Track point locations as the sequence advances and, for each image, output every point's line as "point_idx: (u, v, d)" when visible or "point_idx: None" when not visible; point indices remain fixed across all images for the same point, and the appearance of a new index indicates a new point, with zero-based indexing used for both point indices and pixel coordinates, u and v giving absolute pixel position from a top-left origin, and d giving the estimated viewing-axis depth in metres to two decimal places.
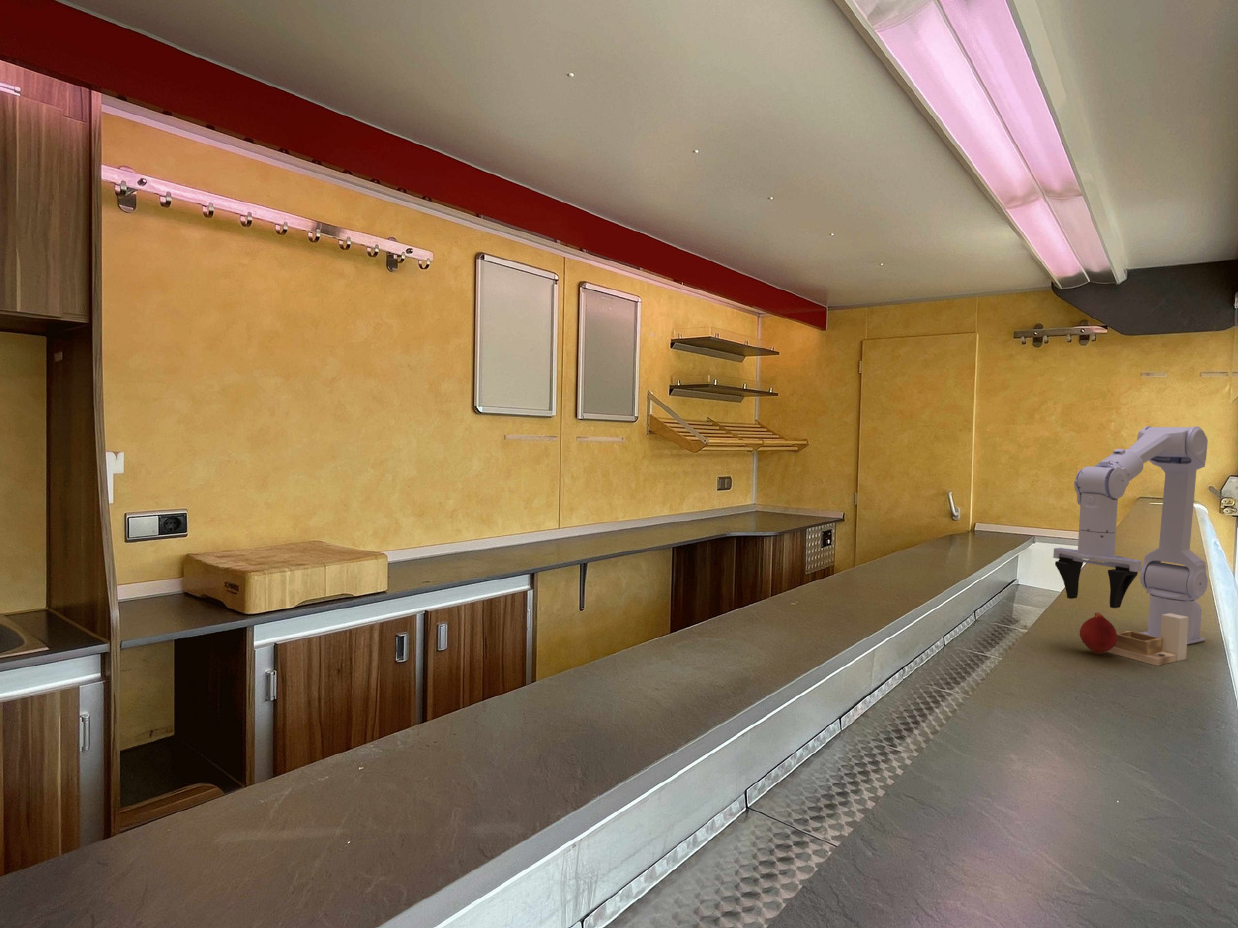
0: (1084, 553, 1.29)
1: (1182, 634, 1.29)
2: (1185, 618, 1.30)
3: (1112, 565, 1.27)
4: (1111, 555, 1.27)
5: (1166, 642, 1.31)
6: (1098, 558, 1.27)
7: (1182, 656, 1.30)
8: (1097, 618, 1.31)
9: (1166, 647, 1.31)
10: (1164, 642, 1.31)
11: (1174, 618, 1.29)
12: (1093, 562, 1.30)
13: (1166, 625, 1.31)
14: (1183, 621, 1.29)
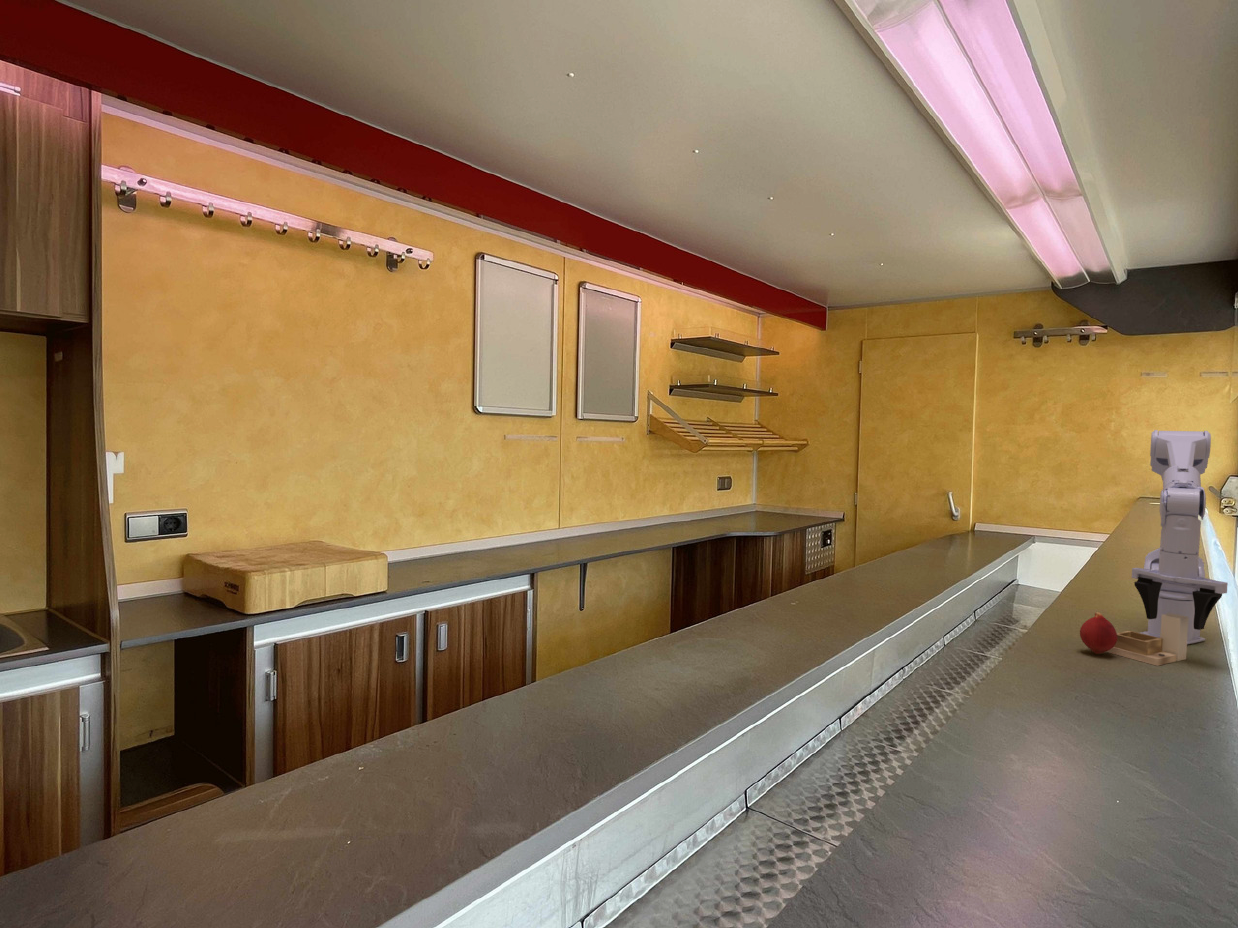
0: (1166, 574, 1.29)
1: (1182, 634, 1.29)
2: (1185, 618, 1.30)
3: (1196, 586, 1.27)
4: (1194, 576, 1.28)
5: (1166, 642, 1.31)
6: (1182, 579, 1.28)
7: (1182, 656, 1.30)
8: (1097, 618, 1.31)
9: (1166, 647, 1.31)
10: (1164, 642, 1.31)
11: (1174, 618, 1.29)
12: (1175, 583, 1.30)
13: (1166, 625, 1.31)
14: (1183, 621, 1.29)
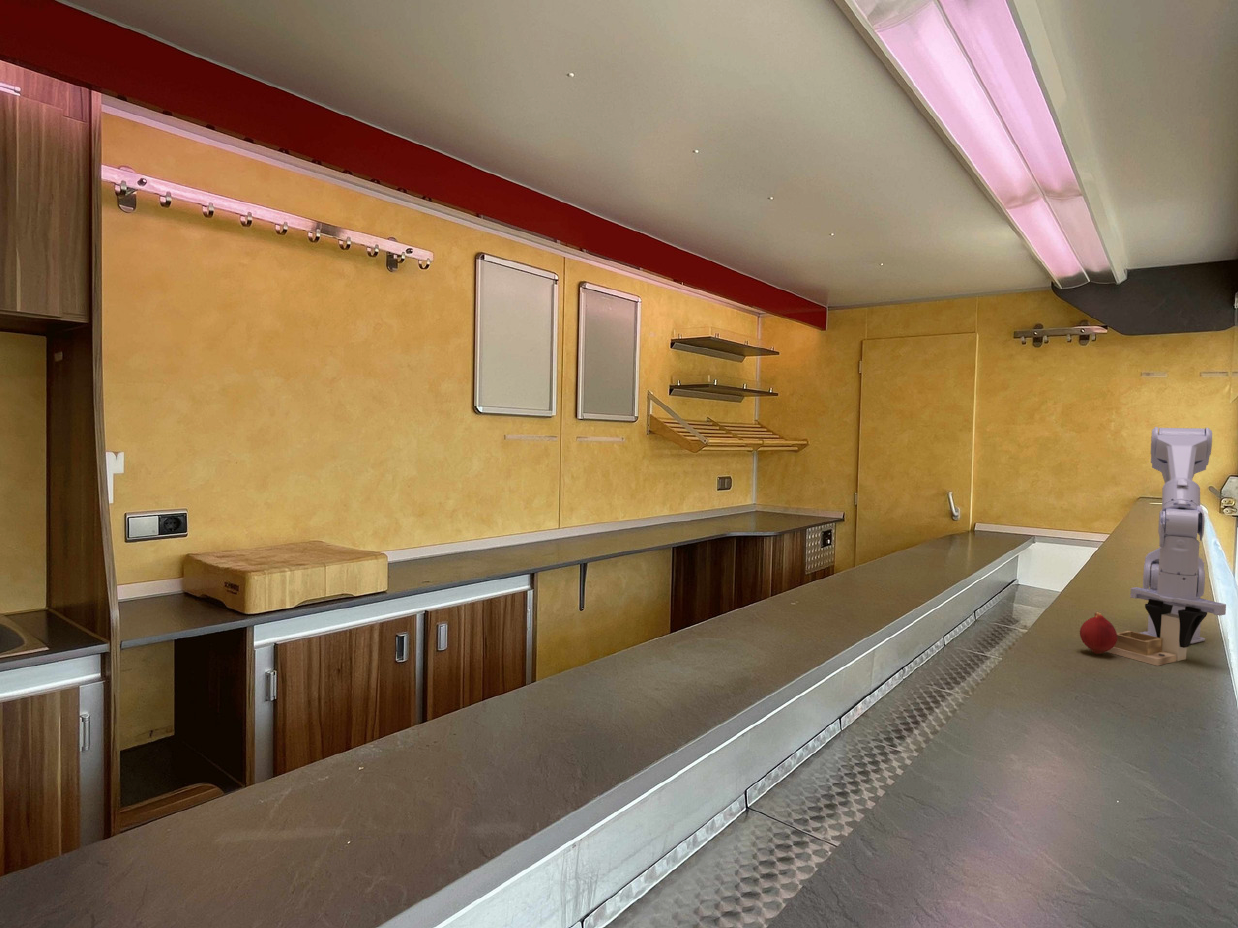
0: (1165, 595, 1.30)
1: None
2: None
3: (1194, 607, 1.28)
4: (1193, 597, 1.28)
5: (1166, 642, 1.31)
6: (1180, 600, 1.28)
7: (1182, 656, 1.30)
8: (1097, 618, 1.31)
9: (1166, 647, 1.31)
10: (1164, 642, 1.31)
11: (1174, 618, 1.29)
12: (1173, 603, 1.31)
13: (1166, 625, 1.31)
14: None
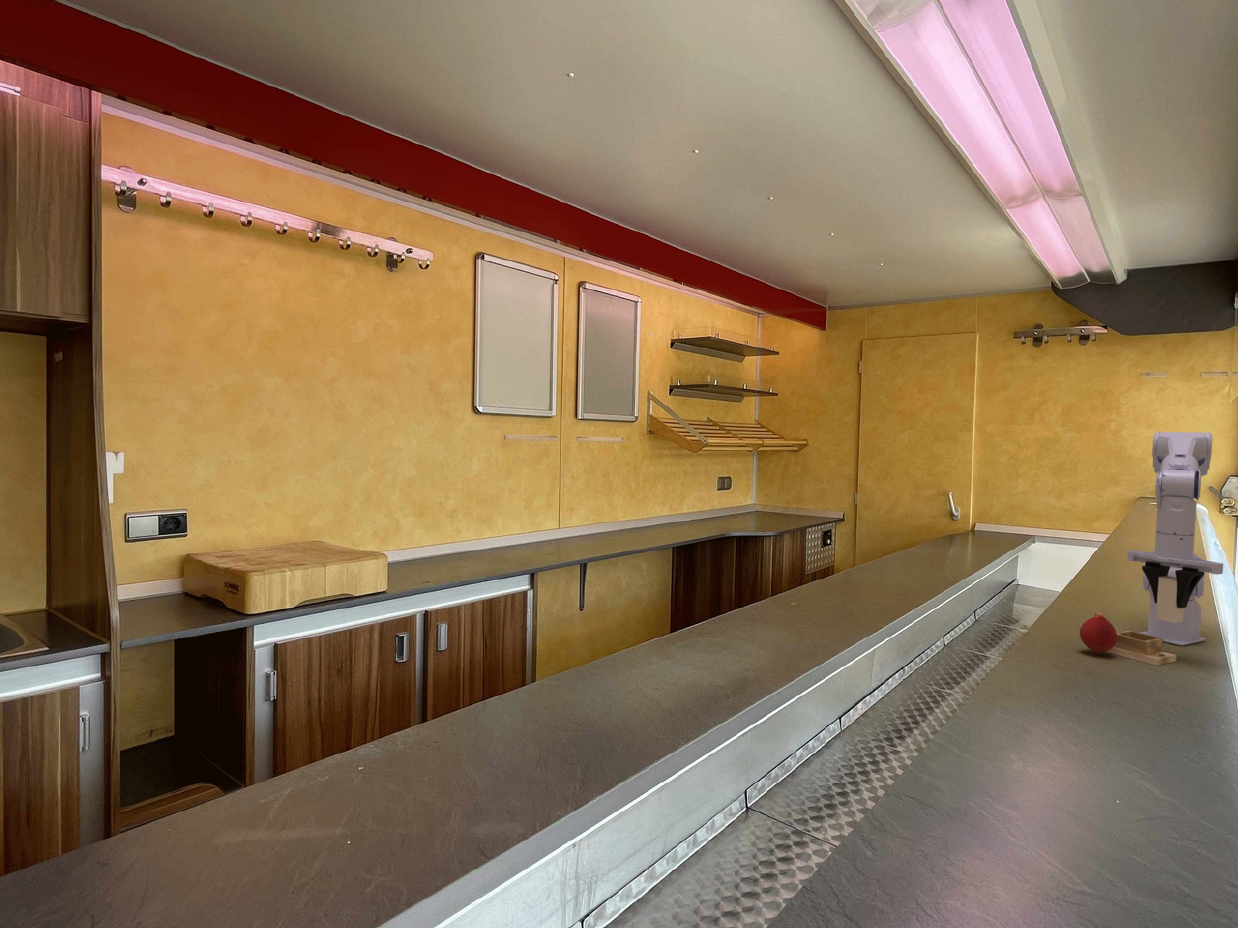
0: (1162, 556, 1.29)
1: None
2: None
3: (1191, 568, 1.27)
4: (1190, 558, 1.28)
5: (1163, 604, 1.30)
6: (1177, 561, 1.27)
7: (1179, 618, 1.29)
8: (1097, 618, 1.31)
9: (1163, 609, 1.30)
10: (1161, 604, 1.31)
11: (1171, 580, 1.29)
12: (1170, 565, 1.30)
13: (1163, 587, 1.30)
14: None
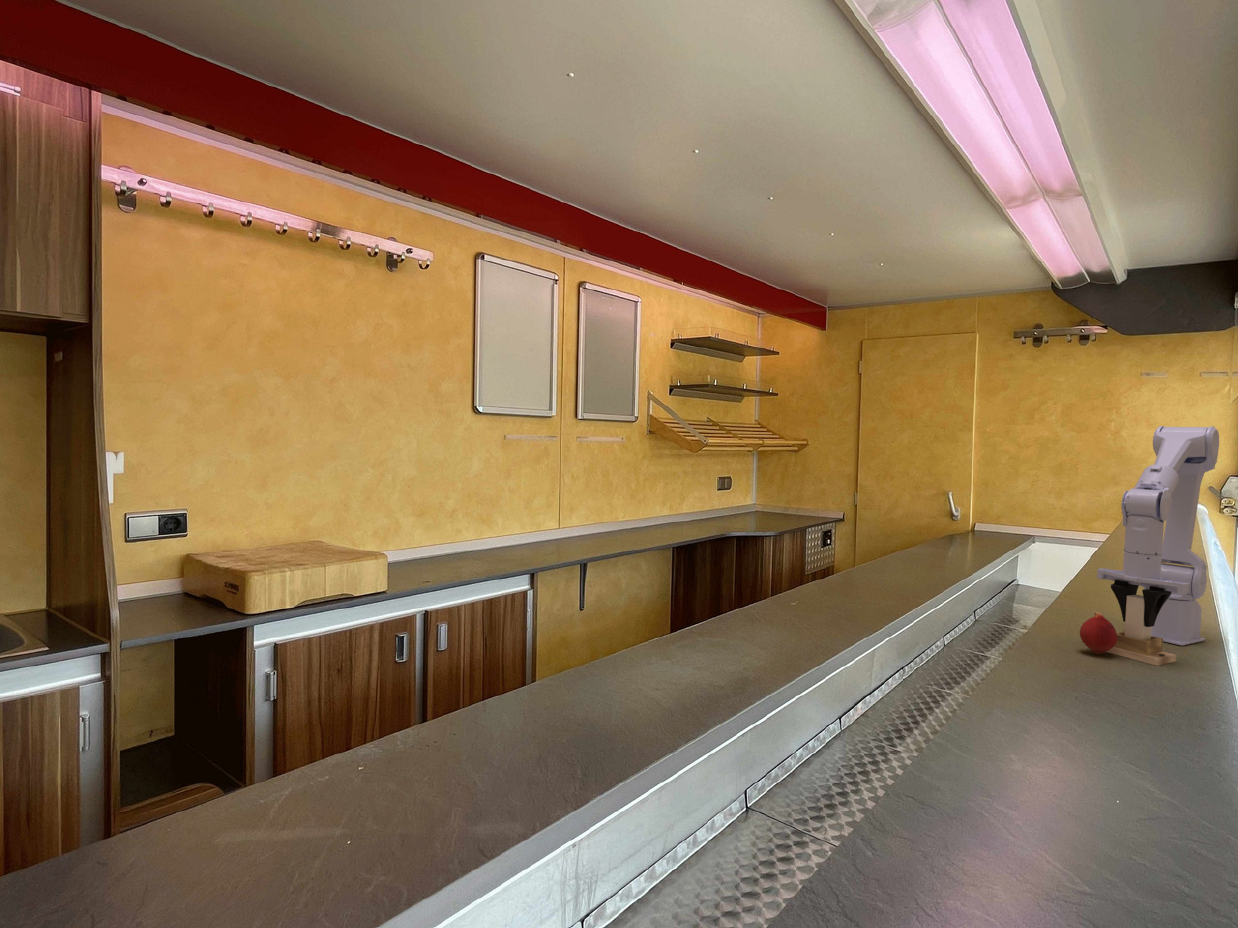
0: (1130, 575, 1.30)
1: None
2: None
3: (1158, 587, 1.28)
4: (1157, 577, 1.28)
5: (1131, 623, 1.31)
6: (1144, 580, 1.28)
7: (1147, 637, 1.30)
8: (1097, 618, 1.31)
9: (1131, 628, 1.31)
10: (1129, 623, 1.31)
11: (1139, 599, 1.30)
12: (1138, 583, 1.31)
13: (1131, 606, 1.31)
14: None
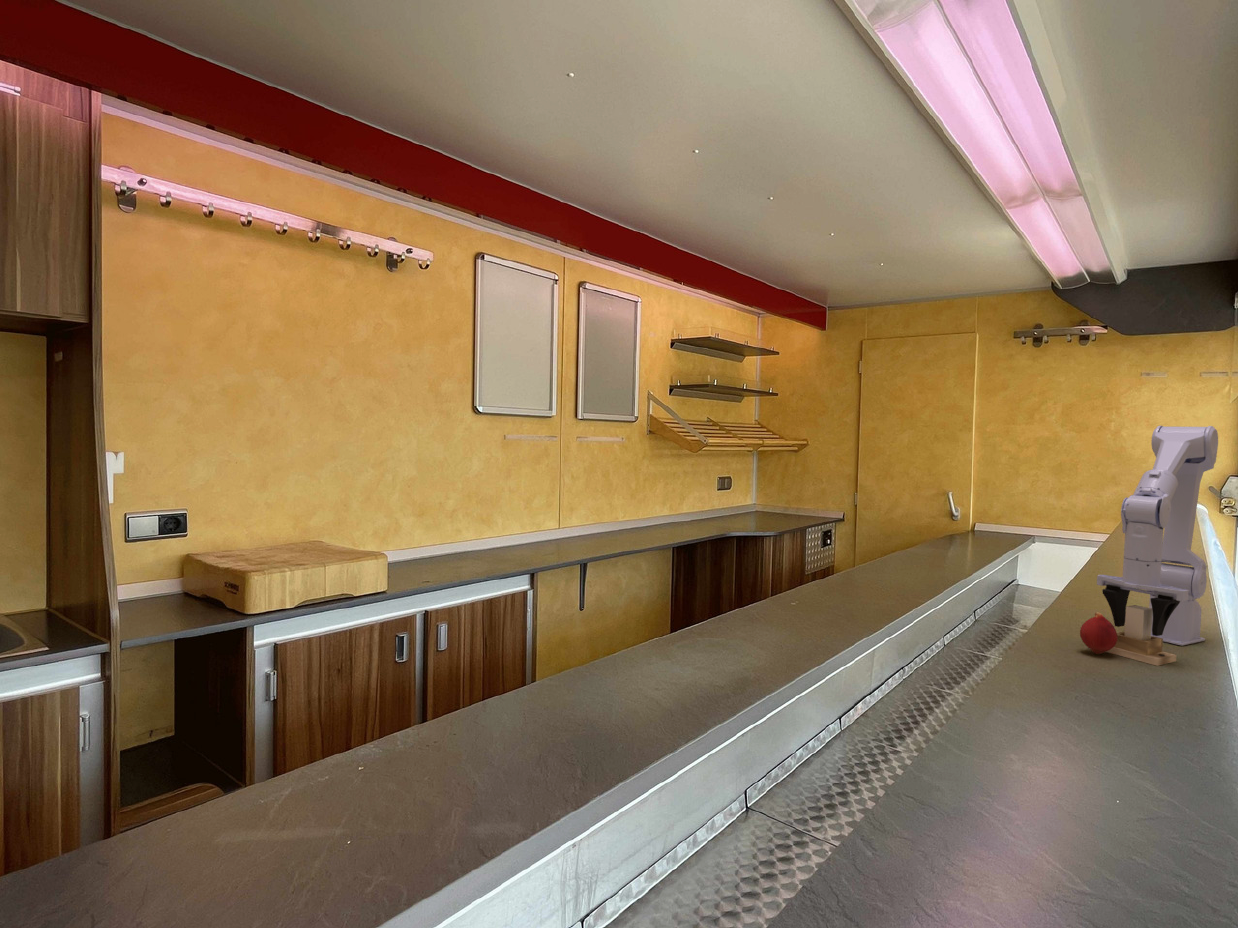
0: (1129, 581, 1.30)
1: (1146, 625, 1.30)
2: (1149, 610, 1.30)
3: (1158, 594, 1.28)
4: (1157, 584, 1.29)
5: (1130, 634, 1.31)
6: (1144, 587, 1.28)
7: None
8: (1097, 618, 1.31)
9: None
10: (1129, 633, 1.32)
11: (1138, 610, 1.30)
12: (1138, 590, 1.31)
13: (1130, 617, 1.31)
14: (1147, 613, 1.30)
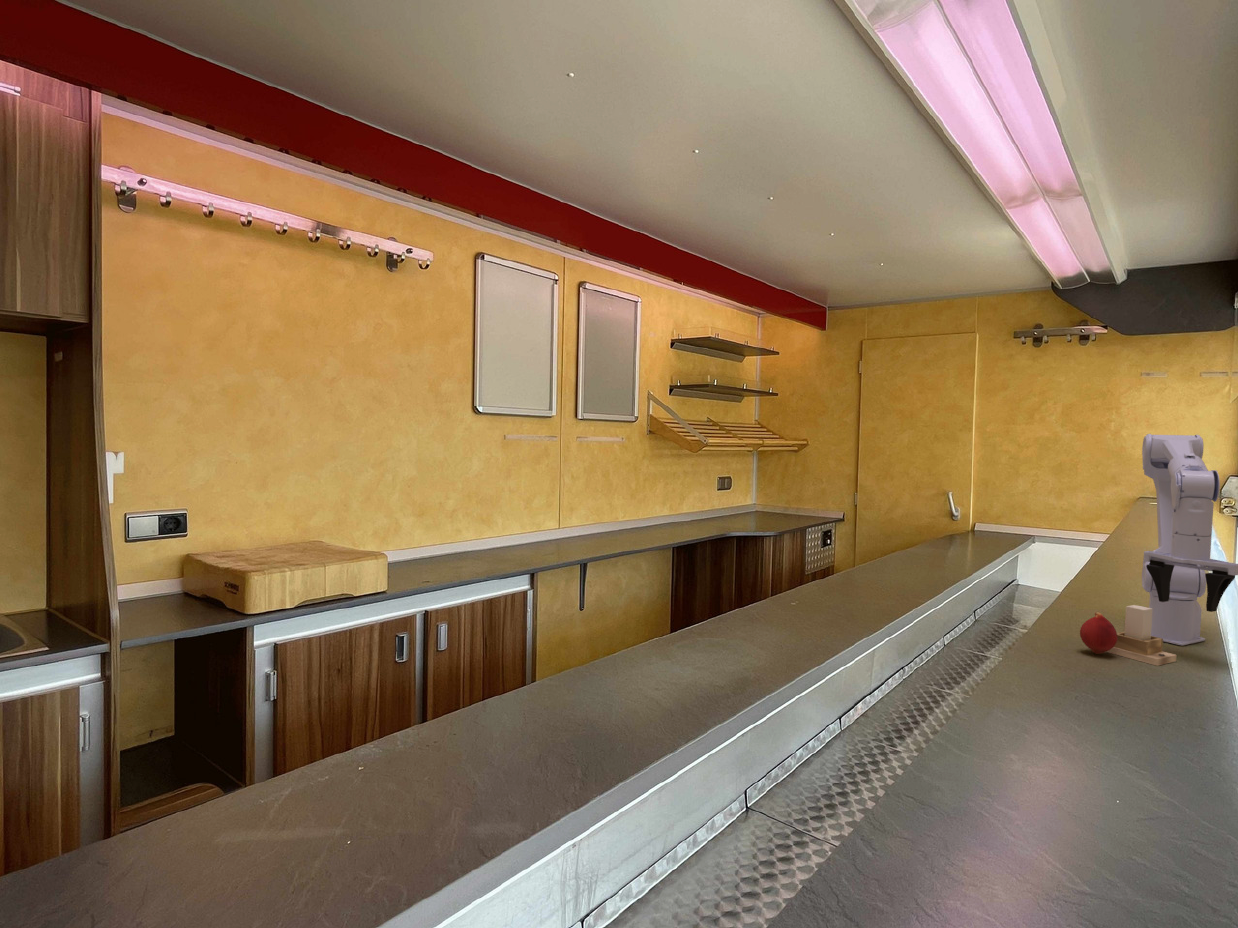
0: (1179, 556, 1.29)
1: (1146, 625, 1.30)
2: (1149, 610, 1.30)
3: (1208, 568, 1.27)
4: (1207, 558, 1.28)
5: (1130, 634, 1.31)
6: (1194, 561, 1.27)
7: None
8: (1097, 618, 1.31)
9: None
10: (1129, 633, 1.32)
11: (1138, 610, 1.30)
12: (1187, 565, 1.30)
13: (1130, 617, 1.31)
14: (1147, 613, 1.30)
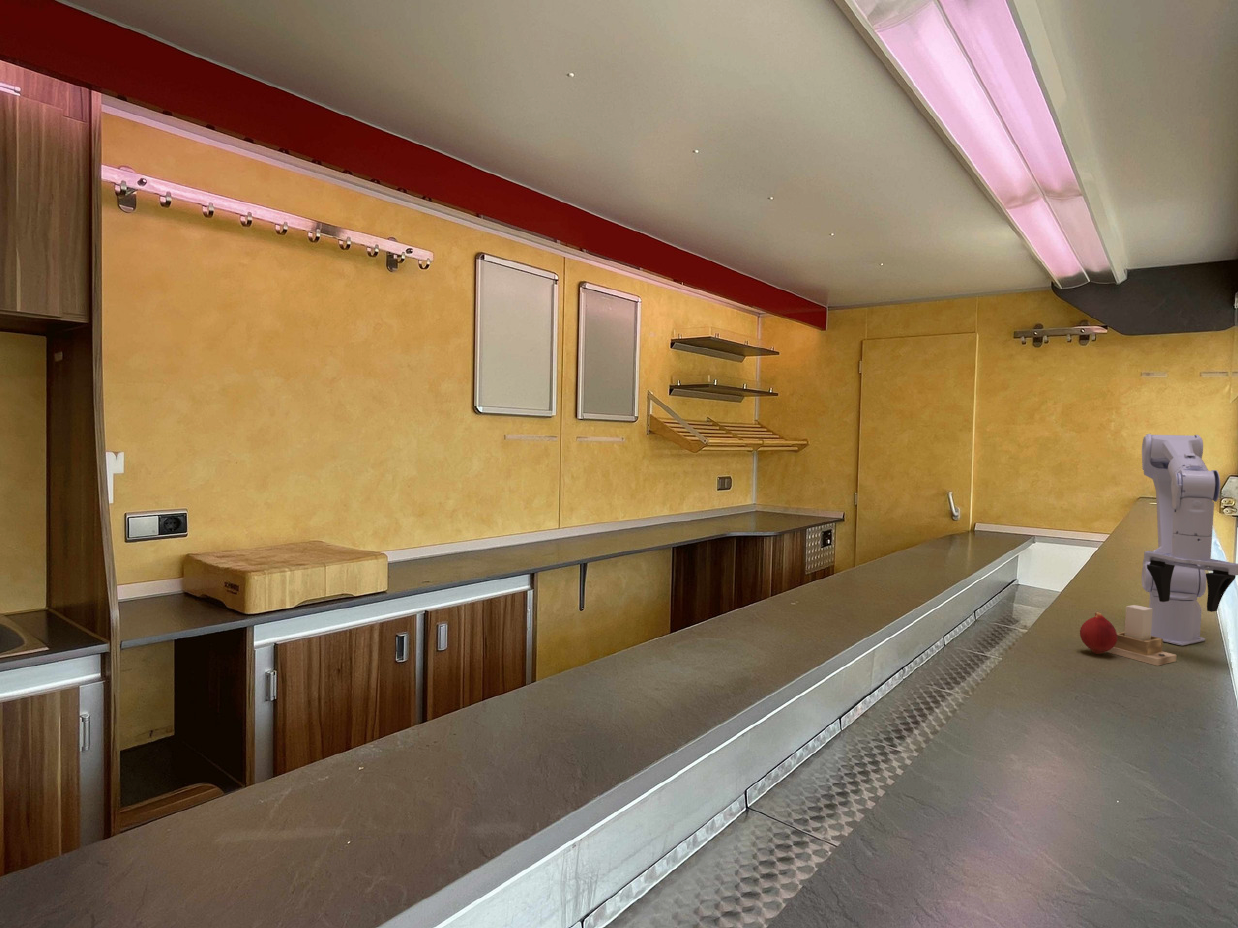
0: (1179, 556, 1.29)
1: (1146, 625, 1.30)
2: (1149, 610, 1.30)
3: (1209, 568, 1.27)
4: (1208, 558, 1.28)
5: (1130, 634, 1.31)
6: (1195, 561, 1.27)
7: None
8: (1097, 618, 1.31)
9: None
10: (1129, 633, 1.32)
11: (1138, 610, 1.30)
12: (1188, 565, 1.30)
13: (1130, 617, 1.31)
14: (1147, 613, 1.30)
